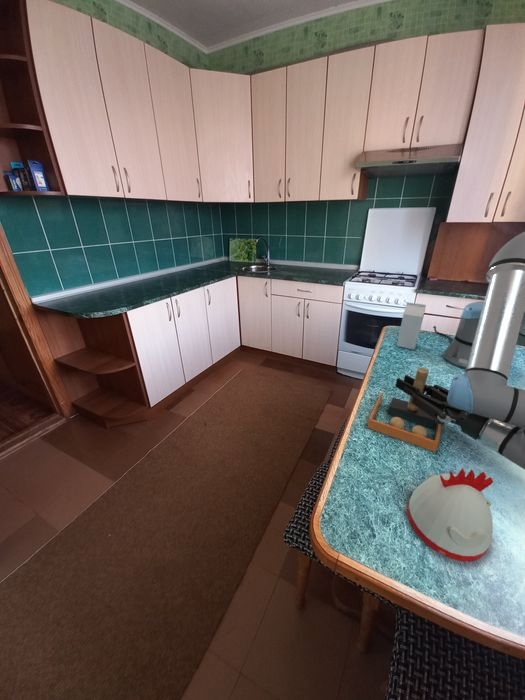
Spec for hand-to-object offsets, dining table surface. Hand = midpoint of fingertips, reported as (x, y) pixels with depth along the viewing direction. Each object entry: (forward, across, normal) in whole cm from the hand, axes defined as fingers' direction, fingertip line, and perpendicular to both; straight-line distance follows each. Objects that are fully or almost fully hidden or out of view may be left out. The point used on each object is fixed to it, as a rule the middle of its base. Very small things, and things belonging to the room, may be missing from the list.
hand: (401, 380), depth 86 cm
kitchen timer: (-30, -22, -10) cm, 38 cm away
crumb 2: (-12, -6, -8) cm, 15 cm away
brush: (-5, 0, -10) cm, 11 cm away
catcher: (-6, -4, -10) cm, 12 cm away
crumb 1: (-7, -8, -8) cm, 13 cm away
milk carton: (+26, +40, -10) cm, 49 cm away
